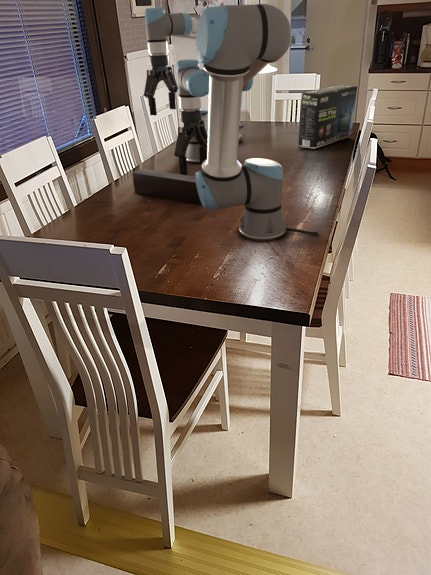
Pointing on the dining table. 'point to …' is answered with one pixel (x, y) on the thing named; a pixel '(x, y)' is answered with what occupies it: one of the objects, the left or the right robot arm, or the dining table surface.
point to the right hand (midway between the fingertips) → (193, 169)
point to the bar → (166, 185)
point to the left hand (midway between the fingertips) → (163, 112)
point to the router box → (326, 115)
